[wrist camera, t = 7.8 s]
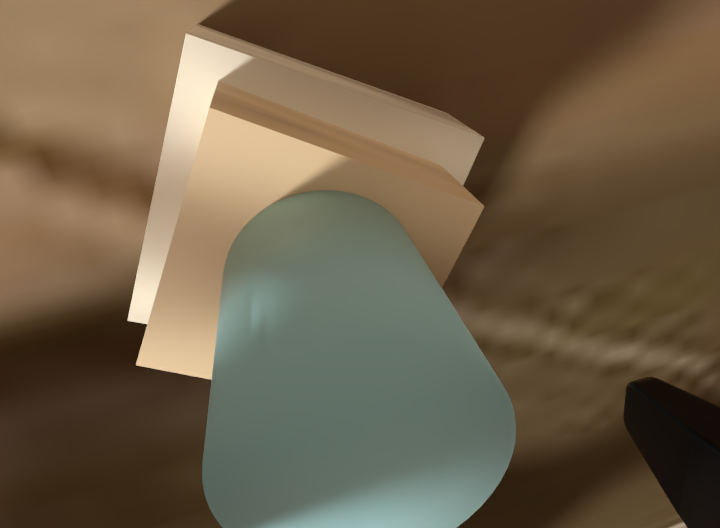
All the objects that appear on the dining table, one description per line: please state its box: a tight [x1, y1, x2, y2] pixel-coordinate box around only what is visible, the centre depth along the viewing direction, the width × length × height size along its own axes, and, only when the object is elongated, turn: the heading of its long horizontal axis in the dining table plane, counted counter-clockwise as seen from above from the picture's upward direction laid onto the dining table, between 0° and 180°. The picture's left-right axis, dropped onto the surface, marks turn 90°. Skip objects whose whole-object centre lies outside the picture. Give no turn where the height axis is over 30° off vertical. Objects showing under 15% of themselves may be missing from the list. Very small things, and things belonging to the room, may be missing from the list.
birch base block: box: [127, 24, 484, 324], centre depth 18 cm, size 9×9×4 cm
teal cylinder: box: [202, 190, 516, 528], centre depth 11 cm, size 5×5×6 cm
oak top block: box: [136, 81, 485, 380], centre depth 15 cm, size 7×7×4 cm
